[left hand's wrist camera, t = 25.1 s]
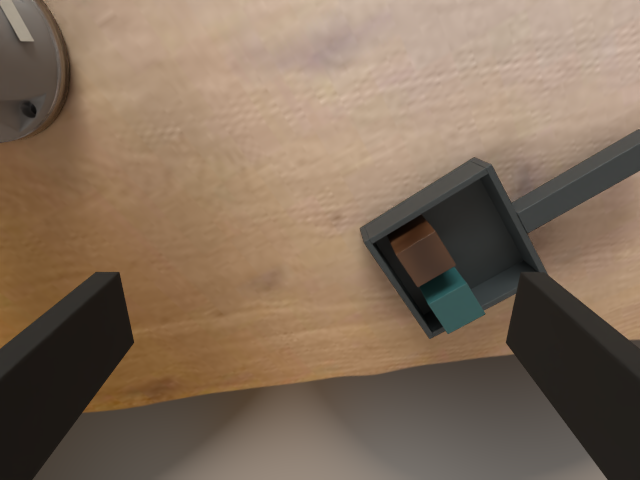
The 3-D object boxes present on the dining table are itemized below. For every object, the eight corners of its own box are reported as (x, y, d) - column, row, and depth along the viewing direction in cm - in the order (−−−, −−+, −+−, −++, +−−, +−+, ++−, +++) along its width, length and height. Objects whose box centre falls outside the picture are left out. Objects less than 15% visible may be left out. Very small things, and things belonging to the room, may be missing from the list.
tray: (420, 317, 44) (429, 339, 40) (359, 228, 40) (363, 242, 36) (648, 193, 39) (685, 204, 35) (604, 75, 35) (640, 73, 31)
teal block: (431, 302, 43) (448, 334, 37) (413, 275, 41) (428, 304, 36) (463, 284, 42) (485, 314, 36) (446, 256, 41) (466, 283, 35)
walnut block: (404, 261, 41) (417, 287, 35) (385, 231, 40) (395, 254, 34) (437, 241, 40) (456, 265, 34) (418, 210, 39) (435, 230, 33)
